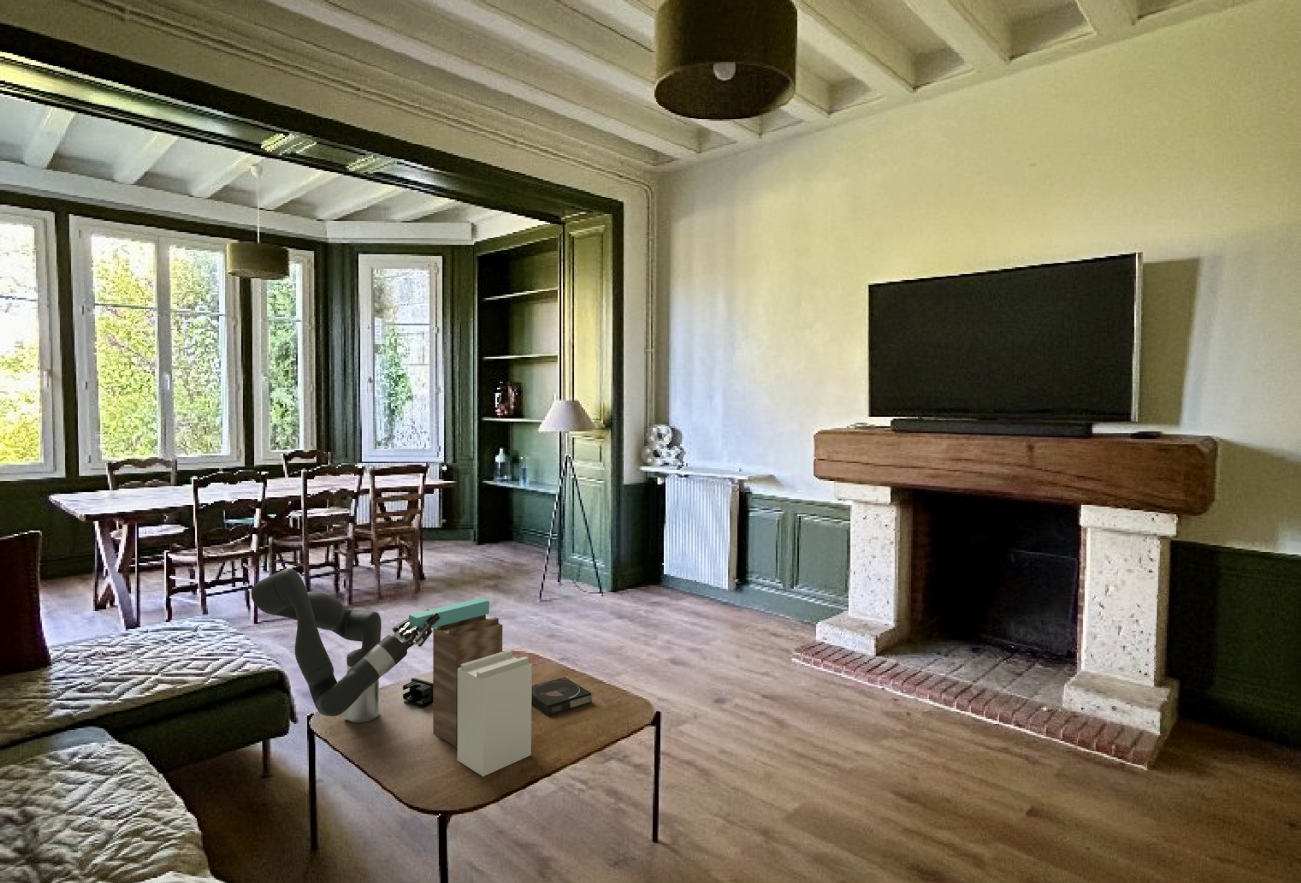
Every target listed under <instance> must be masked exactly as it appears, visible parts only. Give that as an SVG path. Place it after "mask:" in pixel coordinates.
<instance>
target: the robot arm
mask: <svg viewBox="0 0 1301 883" xmlns="http://www.w3.org/2000/svg"><path fill="white" fill-rule="evenodd" d="M250 594H251V597H250V598H251V600H252V602H253V604H254V605H255V606H256V607H257V608H258V609H259V610H260V611H261V612H263V613H265V614H268V615H272V616H276V617H283V618H289V619H292V620H296V622H297V624H296V627H297V628H296V636H295V641H294V655H295V656H294V657H295V660H296V663H297V664H298V665H297V666H298V667H299V669H300V671H301V674H302V676H303V677H304V678H303V679H305V681H306V683H307V686H308V690H309V692H310V696H311V699H312V702H313V704H314V706H315V709H316V710H317V712H318V713H319V714H321V715H322V716H325V717H337V716H339V715H341V714H343V713H344V715H343V716H344V720H345V721H349V722H352V723H365V722H369V721H372V720H374V719H376V718H377V717H379V714H380V688H379V686H380V684H379V680H380V678H381V677H383V676H385V675H386V674H387V673H388V672H389V671H391V670H392V669H393V668H394V667H395V666H397V664H398V663H400V662H401V661H402V660H403V659H404V658H405V657H406V656H407V655H408V650H409V649H410V648H411V647H413V646H414V645H417V647H422V646H423V645H424V644H425V642H426V641H427V640H428V639H429V637H430V636H431V634H433V628H431V626H432V625H434V624H435V623H436V622H437V621H438V620H439V619H440V616H439V615H438V613H434V614H433V615H432V616H431V617H430V618H428V619H427V620H426V621H425V622H424V623H422V624H421V625H420V626H415V627H413V628H411V627H410V623H409V617H408V618H406V619H404V620H403V621H401V622H399V623H398V624H396V625H395V626H393V627H392V628H391V630H392V631H393V633H394V634H392V633H389V634H387V635H386V636H384V638H383V639H382V638H381V637H382V619H381V615H380V614H379V612H377V611H373V610H363V609H361V610H360V609H347V608H345V607H344V606H343V604H342V602H341V600H339V599H338V598H336V596H335V597H334V596H333V595H330V594H327V593H325V592H322V591H321V592H320V591H307V588H306V584H305V582H304V580H303V578H302V576H300V574H299V573H298V572H297V571H296V570H295V569H293V568H285V569H283V570H279V571H278V572H275V573H274V574H271V575H269V576H267V577H265V578H263V579H261V580H259V581H258V582H256V583H255V584H254V585H253V587H252V589H251V593H250ZM427 610H429V609H428V608H426V609H425V610H424V611H427ZM423 627H424V628H423ZM421 628H423V629H422V630H421ZM319 629H321V630H324V631H331V632H333V633H334V634H336V635H338V636H340V638H343V639H345V640H348V641H352V642H361V647H360V648H357V649H355V650H352V651H351V652H349V653H348V654H347V656H346V674H345V675H344V676H343V677H342V678H341V679H339V680H338V681H337V679H336V676H335V674H334V673H335V669H334V665H333V662H332V660H331V659H330V656H329V654H328V652H327V650H326V648H325V646H324V643H323V640H322V638H321V635H320V632H319ZM416 630H418V631H419V632H417V631H416Z"/></svg>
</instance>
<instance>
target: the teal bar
mask: <svg viewBox="0 0 1301 883" xmlns="http://www.w3.org/2000/svg"><path fill="white" fill-rule="evenodd" d="M434 613H438V615H439V616H440V619H439V620H438V621H437V622H436V623H435V624H434V625H432V626H431V629H433V628H435V627H439V626H443V625H446V624H450V623H454V622H458V621H462V620H466V619H470V618H474V617H478V616H482V615H486V616H487V615H489V614H490V600H489V599H486V598H483V597H479V598H475V599H470V600H467V601H462V602H458V603H453V604H449V605H444V606H441V607H435V608H433V609H428V610H427V611H425V610H423V611H419V612H415V613H410V614H408V618H409V623H410V627H411V628H413V627H415V626H420V625H421V624H422V623H424V622H425V621H426V620H427V619H428V618H430V617H431V616H432V615H433V614H434ZM423 628H424V627H423ZM423 628H421V630H422V629H423ZM416 631H417V632H418V633H419V631H418V630H416Z"/></svg>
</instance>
